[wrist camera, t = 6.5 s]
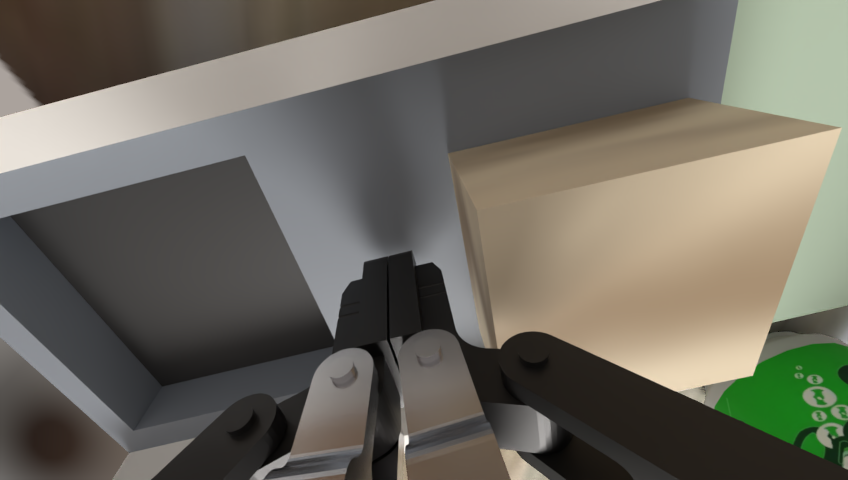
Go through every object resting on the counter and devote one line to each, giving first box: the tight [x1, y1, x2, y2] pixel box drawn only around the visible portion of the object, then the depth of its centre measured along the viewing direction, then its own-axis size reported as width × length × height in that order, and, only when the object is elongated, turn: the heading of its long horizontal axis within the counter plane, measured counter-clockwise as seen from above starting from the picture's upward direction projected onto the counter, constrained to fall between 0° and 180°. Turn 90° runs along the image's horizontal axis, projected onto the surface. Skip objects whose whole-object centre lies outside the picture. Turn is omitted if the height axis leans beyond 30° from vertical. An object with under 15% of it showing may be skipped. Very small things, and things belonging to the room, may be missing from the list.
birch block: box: [448, 98, 842, 392], centre depth 10 cm, size 7×7×4 cm
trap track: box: [0, 0, 848, 480], centre depth 12 cm, size 14×32×4 cm, turn 103°
